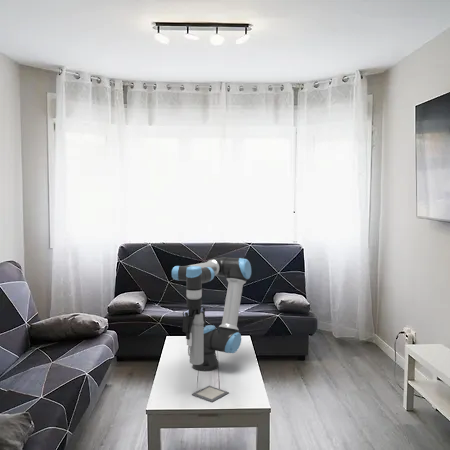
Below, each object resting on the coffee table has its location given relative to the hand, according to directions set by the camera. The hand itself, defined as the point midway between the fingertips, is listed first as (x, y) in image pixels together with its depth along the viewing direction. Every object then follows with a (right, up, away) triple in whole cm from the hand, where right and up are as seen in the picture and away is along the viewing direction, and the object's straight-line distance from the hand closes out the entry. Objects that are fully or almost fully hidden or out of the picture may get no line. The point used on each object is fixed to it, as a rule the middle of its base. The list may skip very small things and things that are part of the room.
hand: (194, 343), depth 224 cm
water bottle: (0, -10, +1) cm, 10 cm away
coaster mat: (+8, -25, 0) cm, 26 cm away
